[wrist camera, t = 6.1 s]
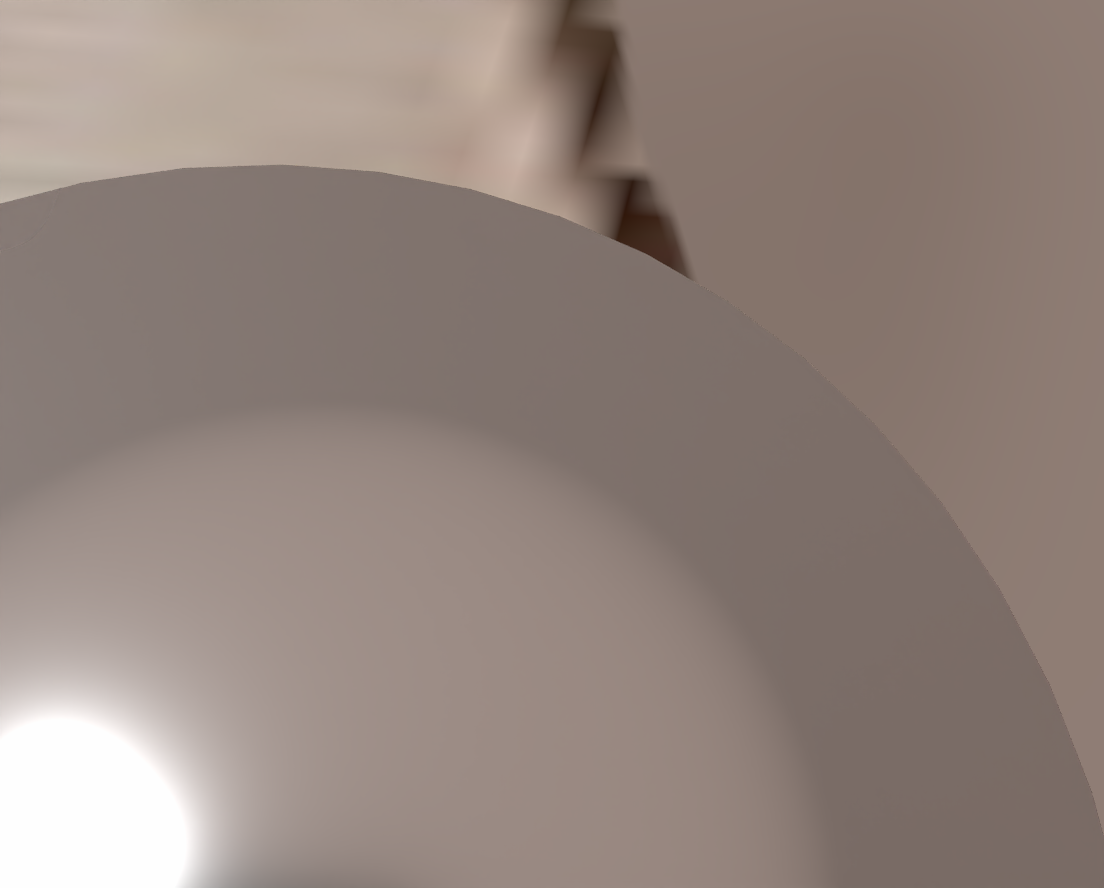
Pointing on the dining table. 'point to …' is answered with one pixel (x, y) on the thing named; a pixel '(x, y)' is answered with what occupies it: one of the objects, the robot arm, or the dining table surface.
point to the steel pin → (472, 570)
